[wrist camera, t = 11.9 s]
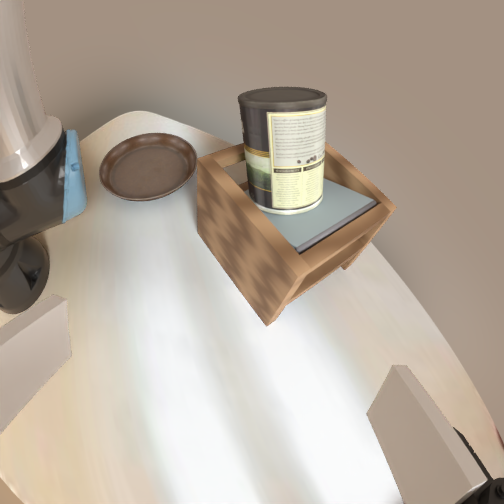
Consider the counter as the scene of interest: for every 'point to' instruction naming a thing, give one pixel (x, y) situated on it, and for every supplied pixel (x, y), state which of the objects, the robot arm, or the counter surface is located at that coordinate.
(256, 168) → the coffee can
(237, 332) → the counter surface
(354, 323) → the counter surface
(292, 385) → the counter surface
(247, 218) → the wooden stand
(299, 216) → the lid
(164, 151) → the plant saucer
